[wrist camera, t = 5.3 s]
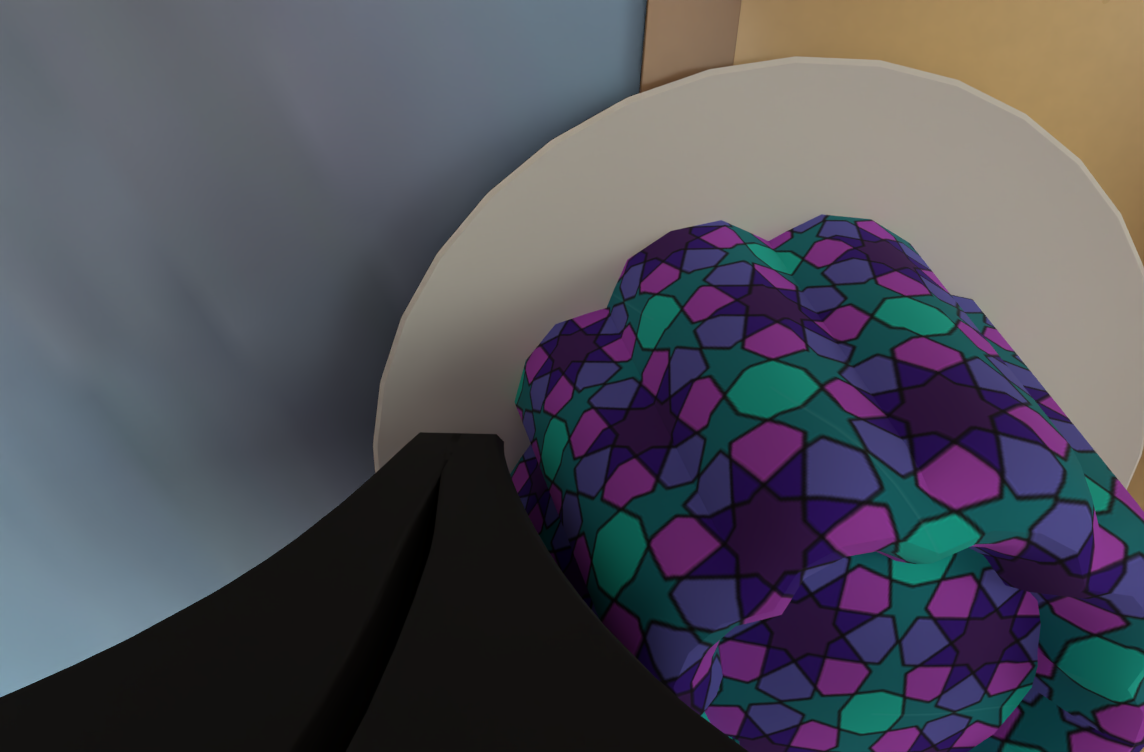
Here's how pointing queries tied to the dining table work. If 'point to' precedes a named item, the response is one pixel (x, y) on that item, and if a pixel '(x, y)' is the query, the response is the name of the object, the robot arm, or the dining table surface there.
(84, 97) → the dining table surface
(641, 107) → the pudding
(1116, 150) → the placemat
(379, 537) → the robot arm
